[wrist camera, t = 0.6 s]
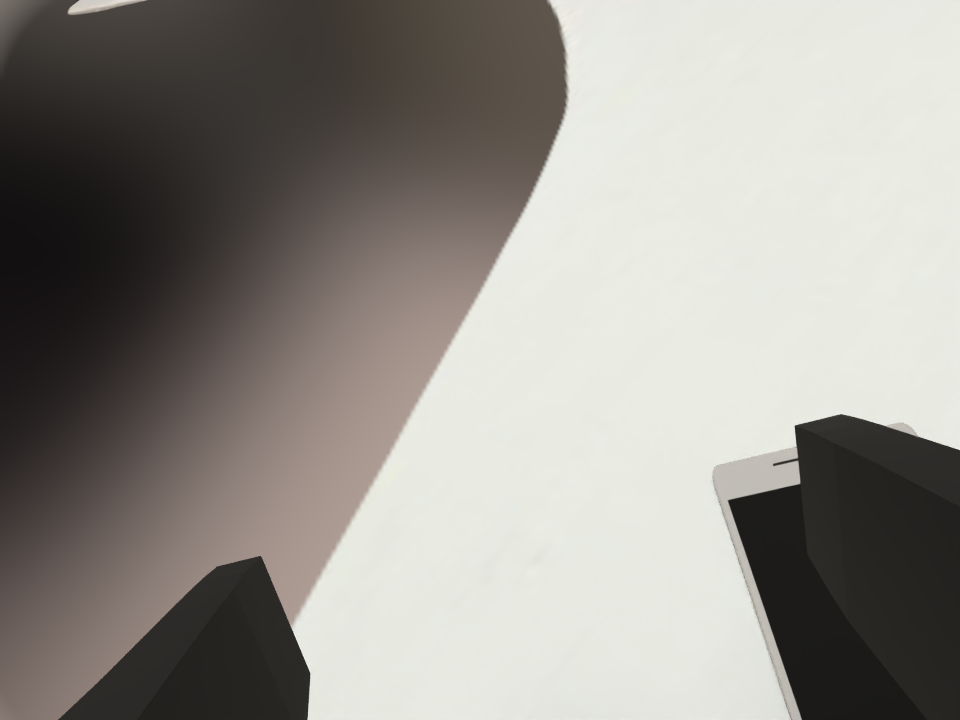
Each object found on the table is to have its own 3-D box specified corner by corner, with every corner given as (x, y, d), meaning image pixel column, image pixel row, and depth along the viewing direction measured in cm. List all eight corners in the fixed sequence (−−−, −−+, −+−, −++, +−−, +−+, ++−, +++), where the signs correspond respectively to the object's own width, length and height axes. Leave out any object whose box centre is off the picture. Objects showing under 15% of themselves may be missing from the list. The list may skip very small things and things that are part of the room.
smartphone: (886, 1014, 18) (889, 1013, 17) (710, 478, 28) (707, 465, 28) (1226, 985, 16) (1244, 983, 16) (907, 433, 27) (909, 418, 26)
